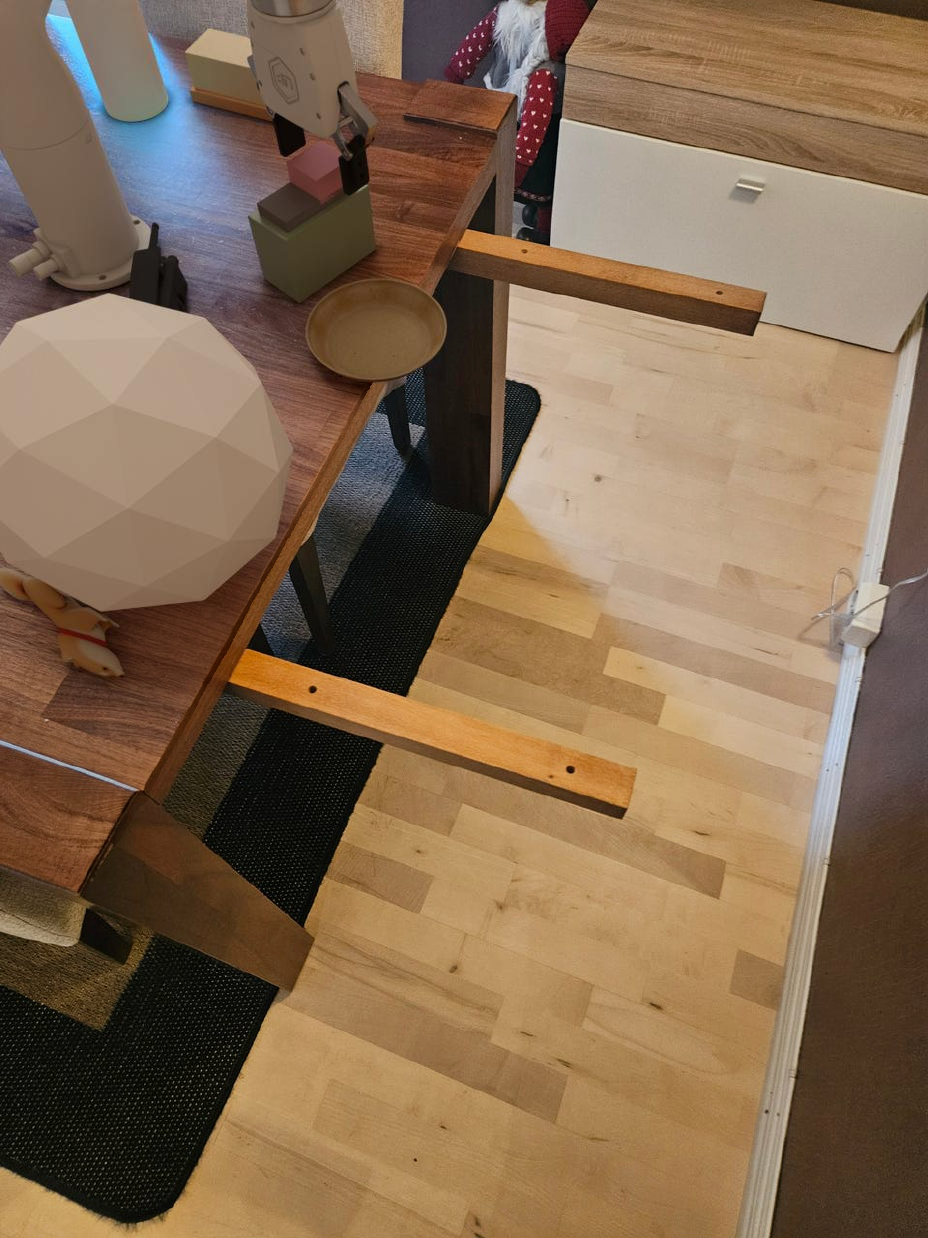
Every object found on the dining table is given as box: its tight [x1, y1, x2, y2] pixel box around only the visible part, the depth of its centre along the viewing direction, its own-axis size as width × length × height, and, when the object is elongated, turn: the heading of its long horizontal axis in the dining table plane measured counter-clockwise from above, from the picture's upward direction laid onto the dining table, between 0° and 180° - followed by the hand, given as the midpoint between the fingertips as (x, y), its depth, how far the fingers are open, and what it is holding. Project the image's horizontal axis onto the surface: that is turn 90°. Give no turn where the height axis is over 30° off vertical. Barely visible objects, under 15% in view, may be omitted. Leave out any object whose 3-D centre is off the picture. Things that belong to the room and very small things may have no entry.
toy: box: [0, 567, 125, 679], centre depth 73 cm, size 3×17×5 cm
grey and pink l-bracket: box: [256, 139, 346, 232], centre depth 88 cm, size 10×5×3 cm, turn 138°
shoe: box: [184, 27, 275, 123], centre depth 109 cm, size 15×7×6 cm, turn 67°
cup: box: [64, 0, 169, 122], centre depth 104 cm, size 8×8×16 cm
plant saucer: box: [305, 277, 448, 383], centre depth 89 cm, size 15×15×3 cm
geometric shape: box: [0, 292, 294, 612], centre depth 67 cm, size 24×25×25 cm
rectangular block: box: [247, 184, 377, 304], centre depth 93 cm, size 12×6×8 cm, turn 137°
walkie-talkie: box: [128, 221, 189, 313], centre depth 92 cm, size 6×6×20 cm
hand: (324, 168), depth 88 cm, fingers open, 9 cm apart
